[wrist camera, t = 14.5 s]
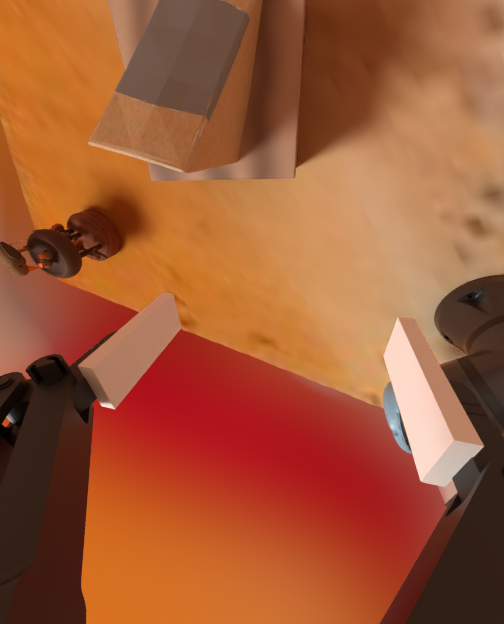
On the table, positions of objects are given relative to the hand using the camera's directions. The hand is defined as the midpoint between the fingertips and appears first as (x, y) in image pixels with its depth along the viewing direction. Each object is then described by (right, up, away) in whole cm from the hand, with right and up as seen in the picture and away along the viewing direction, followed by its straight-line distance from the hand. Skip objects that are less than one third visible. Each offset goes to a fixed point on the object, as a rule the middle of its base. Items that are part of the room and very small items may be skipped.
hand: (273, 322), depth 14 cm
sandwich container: (-5, +27, +12) cm, 30 cm away
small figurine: (-36, +18, +41) cm, 57 cm away
